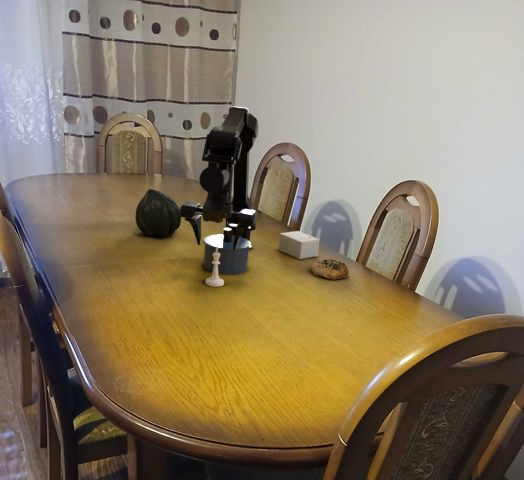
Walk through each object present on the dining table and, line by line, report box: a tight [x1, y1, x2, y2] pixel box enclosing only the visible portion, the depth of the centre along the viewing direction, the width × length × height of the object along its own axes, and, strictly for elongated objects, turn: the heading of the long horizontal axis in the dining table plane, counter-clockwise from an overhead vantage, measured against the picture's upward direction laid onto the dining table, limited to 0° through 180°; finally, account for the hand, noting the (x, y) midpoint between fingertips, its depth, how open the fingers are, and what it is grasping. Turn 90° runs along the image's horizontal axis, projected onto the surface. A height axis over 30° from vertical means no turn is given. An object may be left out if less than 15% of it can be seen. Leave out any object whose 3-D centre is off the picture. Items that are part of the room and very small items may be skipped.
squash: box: [135, 188, 182, 238], centre depth 181 cm, size 14×15×15 cm
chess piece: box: [205, 246, 225, 287], centre depth 147 cm, size 5×5×10 cm
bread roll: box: [310, 258, 349, 281], centre depth 164 cm, size 11×11×5 cm
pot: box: [203, 243, 250, 275], centre depth 160 cm, size 12×12×7 cm
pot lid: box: [203, 227, 252, 250], centre depth 157 cm, size 13×13×5 cm
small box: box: [277, 230, 321, 260], centre depth 178 cm, size 8×6×10 cm
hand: (216, 247), depth 144 cm, fingers open, 9 cm apart
